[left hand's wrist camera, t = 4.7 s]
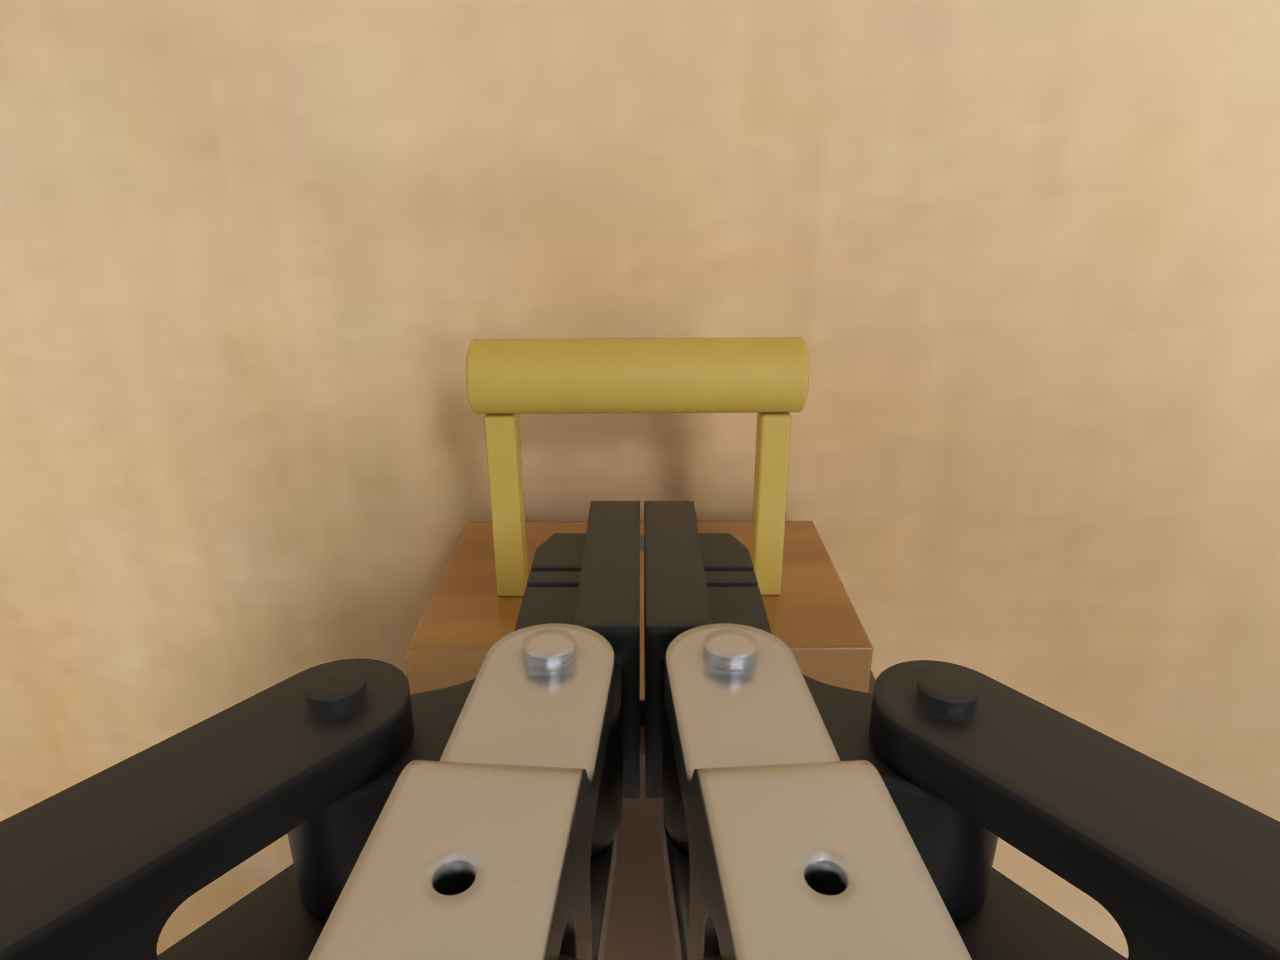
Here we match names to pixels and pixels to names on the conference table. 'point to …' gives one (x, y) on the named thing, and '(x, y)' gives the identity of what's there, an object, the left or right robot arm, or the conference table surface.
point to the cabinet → (642, 879)
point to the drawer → (504, 549)
